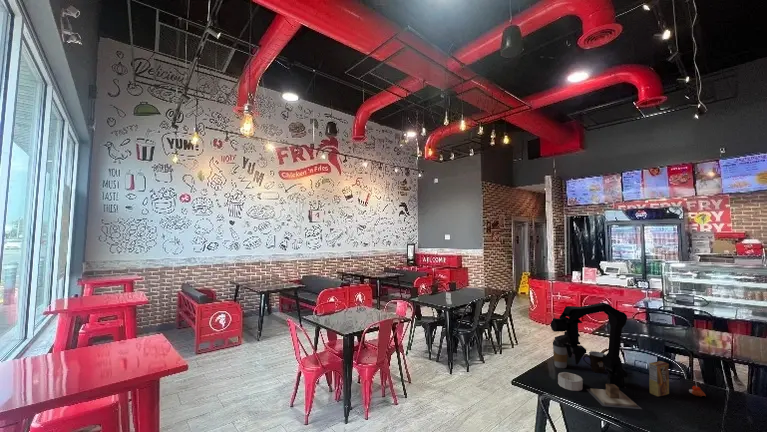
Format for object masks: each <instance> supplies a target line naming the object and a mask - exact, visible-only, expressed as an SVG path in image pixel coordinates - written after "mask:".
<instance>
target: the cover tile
mask: <svg viewBox="0 0 767 432" xmlns="http://www.w3.org/2000/svg"><path fill="white" fill-rule="evenodd" d="M589 389H590V391H591V392H592V393H593V394H594V395H595V396H596V397H597V398H598V399H599V400H600V401H601V402H602V403H603V404H604V405H616V406H629V407H637V405H638V404H637V403H636V402H635V401H634V400H633V399H632V398H630V397H629V396H628V395H626V394H625V393H624V392H623V391H622V392H623V393H624V394H623V393H622V392H621V390H620V388H618V387H617V386H616V385H615V384H609V383H605V389H602V388H589ZM627 396H628V397H629V398H630V399H629V398H628V397H627ZM633 401H634V402H635V403H636V404H637V405H636V404H635V403H634V402H633Z"/></svg>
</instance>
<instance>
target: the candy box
mask: <svg viewBox="0 0 767 432" xmlns="http://www.w3.org/2000/svg"><path fill="white" fill-rule="evenodd" d="M648 365H649V366H648V367H649V368H648V369H649V370H648V371H649V372H648V373H649V381H648V383H649V394H650V395H653V396H655V397H662V396H667V395H669V394H670V377H669V376H670V364H669V363H667V362H665V361H661V360H658V361H654V362H649V363H648Z"/></svg>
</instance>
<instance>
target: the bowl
mask: <svg viewBox="0 0 767 432" xmlns="http://www.w3.org/2000/svg"><path fill="white" fill-rule="evenodd" d="M583 381H584V379H583V378H582V376H580V375H578V374H575V373H571V372H566V371H563V372H559V373H558V374H557V384H558V385H559V387H561V388H563V389H565V390H568V391H574V392H579V391H582V390H583V387H584V386H583V385H584V384H583V383H584V382H583Z"/></svg>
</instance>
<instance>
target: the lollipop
mask: <svg viewBox="0 0 767 432" xmlns="http://www.w3.org/2000/svg"><path fill="white" fill-rule="evenodd" d="M693 377H694V381H695V385H693V386H692V387H691V388H690V389H688V392H689V393H690V394H692V395H694V396H696V397H702V396H705V397H706V396H707V395H706V393H705V392H704V391H703V390H702V389H701V387H699V386H698V385H697V384H698V382H699V383H700V384H701V385H702V384H703V383H702V382H701V380H698V379H697V377H696V372H695V371H694V372H693Z"/></svg>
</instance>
